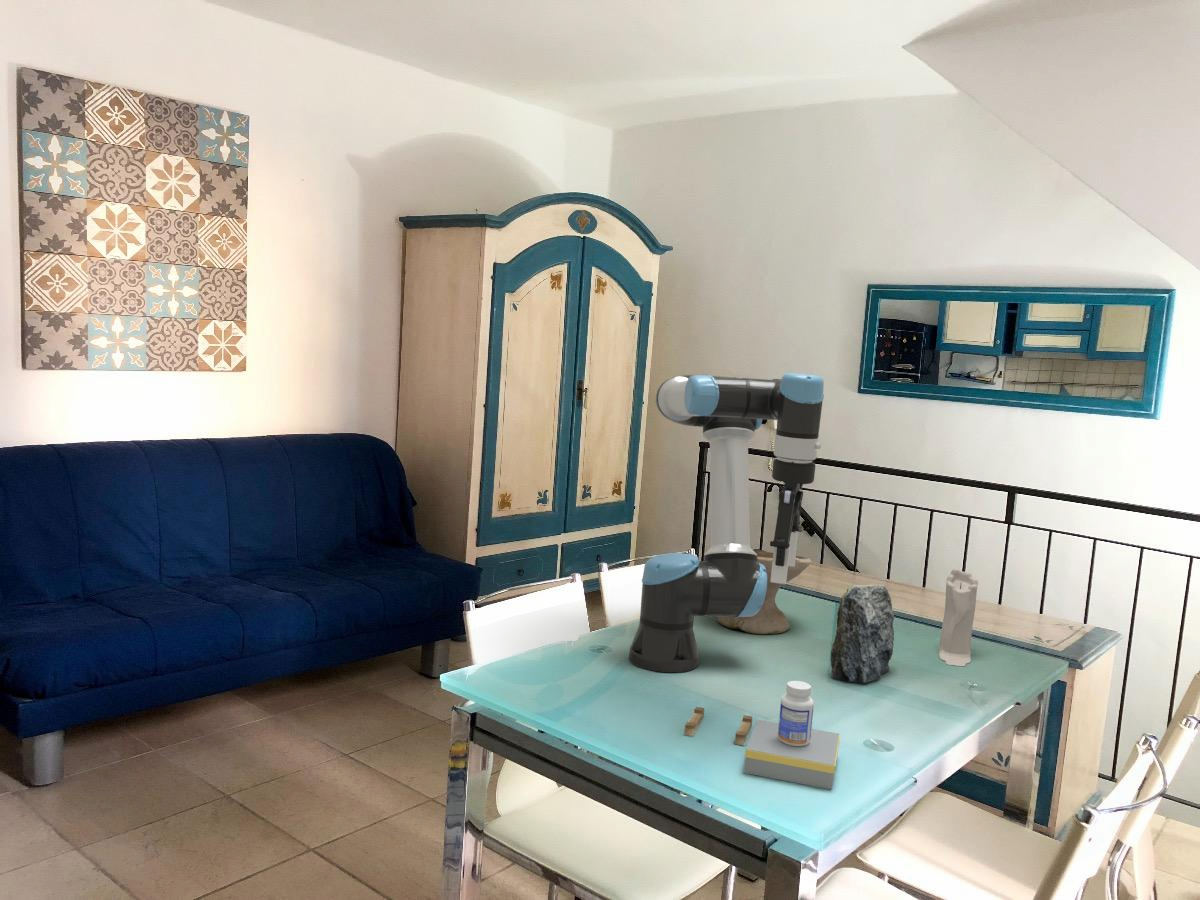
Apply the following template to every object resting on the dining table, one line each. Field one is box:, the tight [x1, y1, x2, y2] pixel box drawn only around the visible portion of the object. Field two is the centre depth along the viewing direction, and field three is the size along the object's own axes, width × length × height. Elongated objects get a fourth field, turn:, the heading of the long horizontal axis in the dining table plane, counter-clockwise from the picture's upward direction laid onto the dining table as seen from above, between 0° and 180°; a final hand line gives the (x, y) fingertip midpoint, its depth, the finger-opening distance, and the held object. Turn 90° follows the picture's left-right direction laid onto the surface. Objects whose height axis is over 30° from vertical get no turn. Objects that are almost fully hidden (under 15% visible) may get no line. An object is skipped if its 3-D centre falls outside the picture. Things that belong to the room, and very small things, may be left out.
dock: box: [743, 718, 841, 790], centre depth 164 cm, size 14×14×4 cm
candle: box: [938, 568, 979, 667], centre depth 230 cm, size 7×14×20 cm, turn 161°
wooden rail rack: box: [683, 706, 753, 746], centre depth 177 cm, size 11×10×2 cm
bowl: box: [708, 547, 812, 635], centre depth 246 cm, size 26×25×20 cm
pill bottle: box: [778, 680, 815, 746], centre depth 163 cm, size 5×5×10 cm
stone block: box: [830, 583, 895, 684], centre depth 213 cm, size 18×9×20 cm, turn 134°
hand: (782, 573), depth 179 cm, fingers open, 13 cm apart
